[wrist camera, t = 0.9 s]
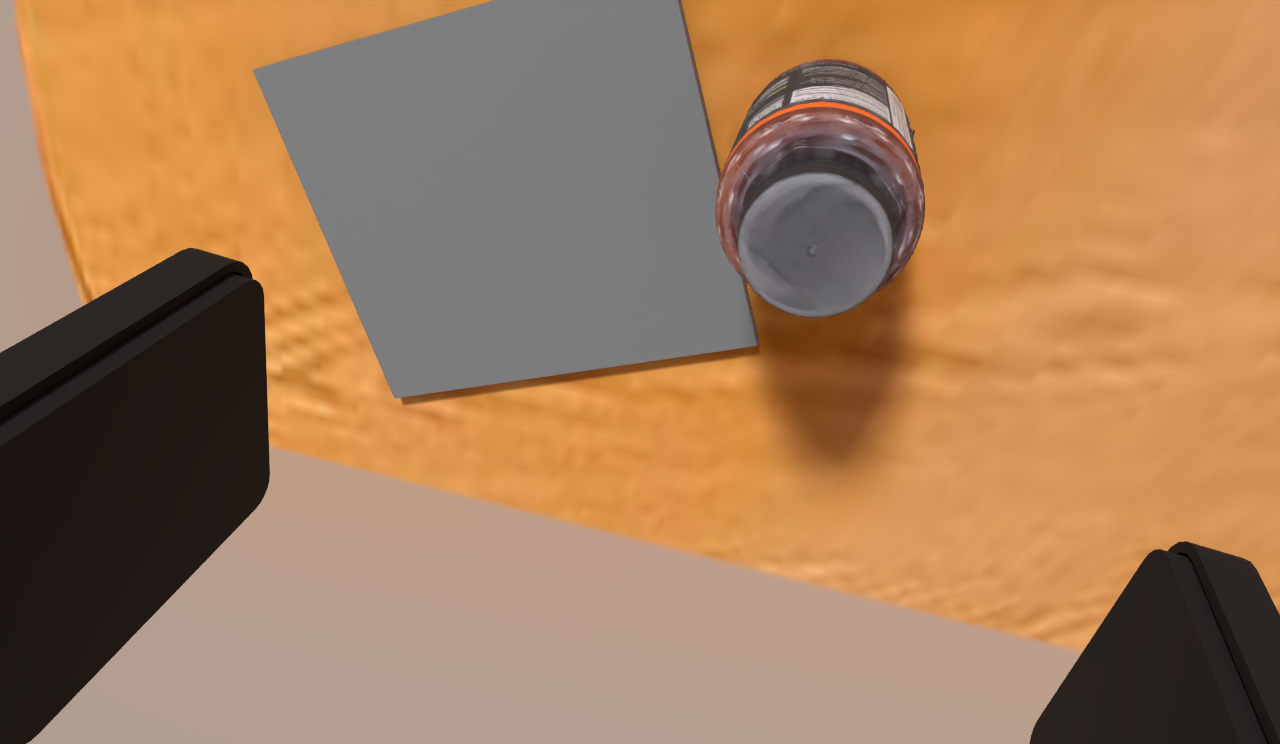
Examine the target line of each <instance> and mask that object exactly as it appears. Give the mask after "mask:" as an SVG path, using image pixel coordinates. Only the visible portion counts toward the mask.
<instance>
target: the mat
mask: <svg viewBox="0 0 1280 744" xmlns="http://www.w3.org/2000/svg"><path fill="white" fill-rule="evenodd" d="M253 72H254V74H255V76H256V79H257V81H258V83H259V86H260V88H261V90H262V93H263V95H264V97H265V100H266V102H267V104H268V107H269V109H270V111H271V113H272V116H273V118H274V120H275V123H276V125H277V127H278V130H279V132H280V134H281V137H282V139H283V141H284V144H285V146H286V148H287V151H288V153H289V155H290V158H291V160H292V162H293V164H294V167H295V169H296V171H297V174H298V176H299V178H300V181H301V183H302V185H303V188H304V190H305V192H306V195H307V197H308V199H309V202H310V204H311V206H312V208H313V211H314V213H315V215H316V218H317V220H318V222H319V225H320V227H321V229H322V232H323V234H324V236H325V239H326V241H327V243H328V246H329V248H330V250H331V252H332V255H333V257H334V259H335V262H336V264H337V266H338V269H339V271H340V273H341V276H342V278H343V280H344V283H345V285H346V287H347V290H348V292H349V294H350V296H351V299H352V301H353V303H354V306H355V308H356V310H357V313H358V315H359V317H360V320H361V322H362V324H363V327H364V329H365V331H366V334H367V336H368V338H369V340H370V343H371V345H372V347H373V350H374V352H375V354H376V357H377V359H378V361H379V364H380V366H381V368H382V371H383V373H384V375H385V378H386V380H387V382H388V385H389V387H390V389H391V391H392V394H393V396H394V398H402V397H409V396H416V395H423V394H429V393H436V392H443V391H450V390H457V389H464V388H471V387H478V386H485V385H491V384H498V383H505V382H512V381H519V380H526V379H533V378H540V377H547V376H553V375H560V374H567V373H574V372H581V371H588V370H595V369H602V368H609V367H615V366H622V365H629V364H636V363H643V362H650V361H657V360H664V359H671V358H677V357H684V356H691V355H698V354H705V353H712V352H719V351H726V350H732V349H739V348H746V347H753V346H757V345H758V341H759V338H758V334H757V329H756V325H755V321H754V316H753V312H752V308H751V303H750V299H749V295H748V290H747V286H746V282H745V280H744V279H743V278H742V277H741V276H740V275H739V274H738V273H737V271H736V270H735V269H734V267H733V266H732V264H731V263H730V261H729V260H728V258H727V256H726V254H725V252H724V250H723V248H722V245H721V242H720V239H719V236H718V233H717V226H716V216H715V206H716V195H717V188H718V183H719V180H720V177H721V172H720V168H719V164H718V159H717V155H716V151H715V146H714V142H713V138H712V133H711V129H710V125H709V120H708V116H707V111H706V107H705V103H704V98H703V94H702V90H701V85H700V81H699V77H698V72H697V68H696V63H695V59H694V55H693V50H692V46H691V42H690V37H689V33H688V29H687V24H686V20H685V16H684V11H683V7H682V2H681V0H494V1H490V2H487V3H483V4H480V5H476V6H473V7H469V8H466V9H462V10H459V11H455V12H452V13H448V14H445V15H441V16H438V17H434V18H431V19H427V20H424V21H420V22H417V23H413V24H410V25H406V26H403V27H399V28H396V29H392V30H389V31H386V32H382V33H379V34H375V35H372V36H368V37H365V38H361V39H358V40H354V41H351V42H347V43H344V44H340V45H337V46H333V47H330V48H326V49H323V50H319V51H316V52H312V53H309V54H305V55H302V56H298V57H295V58H291V59H288V60H284V61H281V62H277V63H274V64H270V65H267V66H263V67H260V68H257V69H254V70H253Z"/></svg>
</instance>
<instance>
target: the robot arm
mask: <svg viewBox="0 0 1280 744" xmlns="http://www.w3.org/2000/svg"><path fill="white" fill-rule="evenodd" d="M269 468H270V467H269V437H268V406H267V375H266V344H265V313H264V293H263V288H262V286H261V284H260V283H259V282H257V281H256V280H253V279H252V274H251V272H250V270H249V268H248V266H246V265H245V264H244V263H243V262H240V261H236V260H233V259H230V258H226V257H223V256H219V255H216V254H213V253H209V252H206V251H203V250H199V249H194V248H188V249H185V250H182V251H180V252H178V253H176V254H175V255H173V256H171V257H169V258H167V259H166V260H164V261H162V262H160V263H159V264H157V265H155V266H153V267H152V268H150V269H148V270H146V271H144V272H143V273H141V274H139V275H137V276H136V277H134V278H132V279H130V280H129V281H127V282H125V283H123V284H121V285H120V286H118V287H116V288H114V289H113V290H111V291H109V292H107V293H105V294H104V295H102V296H100V297H98V298H97V299H95V300H93V301H91V302H90V303H88V304H86V305H84V306H82V307H81V308H79V309H77V310H75V311H74V312H72V313H70V314H68V315H67V316H65V317H63V318H61V319H60V320H58V321H56V322H54V323H52V324H51V325H49V326H47V327H45V328H44V329H42V330H40V331H38V332H36V333H35V334H33V335H31V336H29V337H28V338H26V339H24V340H23V341H21V342H19V343H17V344H15V345H14V346H12V347H10V348H8V349H6V350H5V351H3V352H1V353H0V744H26V743H28V742H30V741H31V740H32V739H33V738H34V737H35V736H37V735H38V734H39V733H40V732H41V731H42V730H43V729H44V728H45V727H46V725H47V724H48V723H49V722H50V721H51V720H52V719H53V718H54V717H55V716H56V715H57V714H58V713H59V712H60V711H61V710H62V709H63V708H64V707H65V706H66V705H67V704H68V703H69V702H70V701H71V700H72V698H73V697H74V696H75V695H76V694H77V693H78V692H79V691H80V690H81V689H82V688H83V687H84V686H85V685H86V684H87V683H88V682H89V681H90V680H91V679H92V678H93V677H94V676H95V675H96V674H97V673H98V672H99V670H100V669H101V668H102V667H103V666H104V665H105V664H106V663H107V662H108V661H109V660H110V659H111V658H112V657H113V656H114V655H115V654H116V653H117V652H118V651H119V650H120V649H121V648H122V647H123V646H124V645H125V644H126V642H127V641H129V640H130V638H131V637H132V636H133V635H134V634H135V633H136V632H137V631H138V630H139V629H140V628H141V627H142V626H143V625H144V624H145V623H146V622H147V621H148V620H149V619H150V618H151V617H152V616H153V615H154V614H155V613H156V611H158V609H159V608H160V607H161V606H162V605H163V604H164V603H165V602H166V601H167V600H168V599H169V598H170V597H171V596H172V595H173V594H174V593H175V592H176V591H177V590H178V589H179V588H180V587H181V586H182V585H183V583H185V581H186V580H187V579H188V578H189V577H190V576H191V575H192V574H193V573H194V572H195V571H196V570H197V569H198V568H199V567H200V566H201V565H202V564H203V563H204V562H205V561H206V560H207V559H208V558H209V557H210V556H211V555H212V553H213V552H214V551H215V550H216V549H217V548H218V547H219V546H220V545H221V544H222V543H223V542H224V541H225V540H226V539H227V538H228V537H229V536H230V535H231V534H232V533H233V532H234V531H235V530H236V529H237V528H238V526H240V525H241V523H242V522H243V521H244V520H245V519H246V518H247V517H248V516H249V515H250V514H251V513H252V512H253V511H254V510H255V509H256V508H257V506H258V505H259V504H260V502H261V501H262V499H263V497H264V495H265V493H266V490H267V487H268V483H269V476H270V469H269ZM1030 744H1280V615H1279V613H1278V611H1277V609H1276V607H1275V605H1274V603H1273V601H1272V599H1271V597H1270V595H1269V593H1268V591H1267V589H1266V587H1265V585H1264V583H1263V581H1262V579H1261V577H1260V575H1259V573H1258V571H1257V569H1256V568H1255V567H1254V566H1253V564H1252V563H1251V562H1250V561H1248V560H1246V559H1244V558H1240V557H1237V556H1234V555H1230V554H1227V553H1224V552H1220V551H1217V550H1213V549H1210V548H1207V547H1203V546H1200V545H1197V544H1193V543H1190V542H1186V541H1185V542H1178V543H1177V544H1175V545H1174V546H1172V547H1171V548H1170V549H1169V550H1168V551H1164V550H1161V549H1159V550H1154V551H1152V552H1151V553H1149V554H1148V556H1147V557H1146V558H1145V559H1144V560H1143V562H1142V563H1141V565H1140V566H1139V568H1138V570H1137V571H1136V573H1135V574H1134V576H1133V577H1132V579H1131V580H1130V582H1129V583H1128V585H1127V586H1126V588H1125V589H1124V591H1123V592H1122V594H1121V595H1120V597H1119V598H1118V600H1117V601H1116V603H1115V604H1114V606H1113V607H1112V609H1111V610H1110V612H1109V613H1108V615H1107V616H1106V618H1105V619H1104V621H1103V622H1102V624H1101V625H1100V627H1099V628H1098V630H1097V631H1096V633H1095V634H1094V636H1093V637H1092V639H1091V640H1090V642H1089V643H1088V645H1087V646H1086V648H1085V649H1084V651H1083V652H1082V654H1081V655H1080V657H1079V659H1078V660H1077V662H1076V663H1075V665H1074V666H1073V668H1072V669H1071V671H1070V672H1069V674H1068V675H1067V677H1066V678H1065V680H1064V681H1063V683H1062V684H1061V686H1060V687H1059V689H1058V690H1057V692H1056V693H1055V695H1054V696H1053V698H1052V699H1051V701H1050V702H1049V704H1048V705H1047V707H1046V708H1045V710H1044V711H1043V713H1042V714H1041V716H1040V717H1039V719H1038V721H1037V723H1036V724H1035V726H1034V729H1033V732H1032V735H1031V740H1030Z"/></svg>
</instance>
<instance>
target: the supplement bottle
mask: <svg viewBox="0 0 1280 744" xmlns="http://www.w3.org/2000/svg"><path fill="white" fill-rule="evenodd" d="M914 132H915V130H913V132H912V130H911V128H910V123H909V120H908V117H907V115H906V113H905V111H904V108H903V107H902V105H901V103H900V100H899V98H898V97H897V95H896V94H895V93H894V91H893V90H892V88H891V87H890V86H889V85H888V84H887V83H886V82H885V81H884V80H883V79H882V78H881V77H880V76H878V75H877V74H876V73H874V72H873V71H871V70H869V69H867V68H865V67H863V66H860V65H858V64H855V63H851V62H848V61H843V60H827V59H826V60H816V61H811V62H806V63H803V64H801V65H798V66H796V67H793V68H791V69H789V70H787V71H786V72H784V73H782V74H781V75H779V76H778V77H777V78H775V79H774V80H773V81H772V82H770V83H769V84H768V85H767V86H766V88H765V89H764V90H763V91H762V92H761V93H760V94H759V96H758V97H757V98H756V99H755V101H754V102H753V104H752V106H751V107H750V109H749V111H748V113H747V116H746V118H745V120H744V122H743V124H742V127H741V128H740V131H739V133H738V135H737V138H736V140H735V143H734V145H733V147H732V150H731V152H730V154H729V156H728V159H727V161H726V163H725V166H724V168H723V171H722V174H721V177H720V180H719V183H718V188H717V195H716V206H715V216H716V226H717V233H718V236H719V239H720V242H721V245H722V248H723V250H724V252H725V254H726V256H727V258H728V260H729V261H730V263H731V264H732V266H733V267H734V269H735V270H736V271H737V273H738V274H739V275H740V276H741V277H742V278H743V279H744V280H745V281H746V282H747V283H748V284H749V285H750V286H751V287H752V288H753V290H754V291H755V292H756V293H757V294H758V295H759V296H760V297H761V298H762V299H763V300H765V301H766V302H767V303H769V304H770V305H772V306H773V307H775V308H777V309H779V310H781V311H784V312H786V313H788V314H793V315H796V316H800V317H810V318H817V317H830V316H834V315H838V314H841V313H843V312H846V311H848V310H851V309H853V308H854V307H856V306H857V305H859V304H861V303H863V302H864V301H865V300H866V299H867V298H869V297H870V296H871V295H873V294H874V293H876V292H878V291H879V290H880V289H882V288H883V287H885V286H886V285H888V284H889V283H890V282H892V280H893V279H894V278H895V277H896V276H897V275H898V274H899V273H900V272H901V271H902V270H903V268H904V266H905V265H906V263H907V262H908V261H909V259H910V257H911V255H912V254H913V252H914V250H915V248H916V245H917V243H918V240H919V238H920V235H921V231H922V229H923V223H924V216H925V214H924V212H925V196H924V184H923V181H922V178H921V172H920V166H919V164H918V159H917V154H916V149H915V144H914V141H913V136H914Z"/></svg>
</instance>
